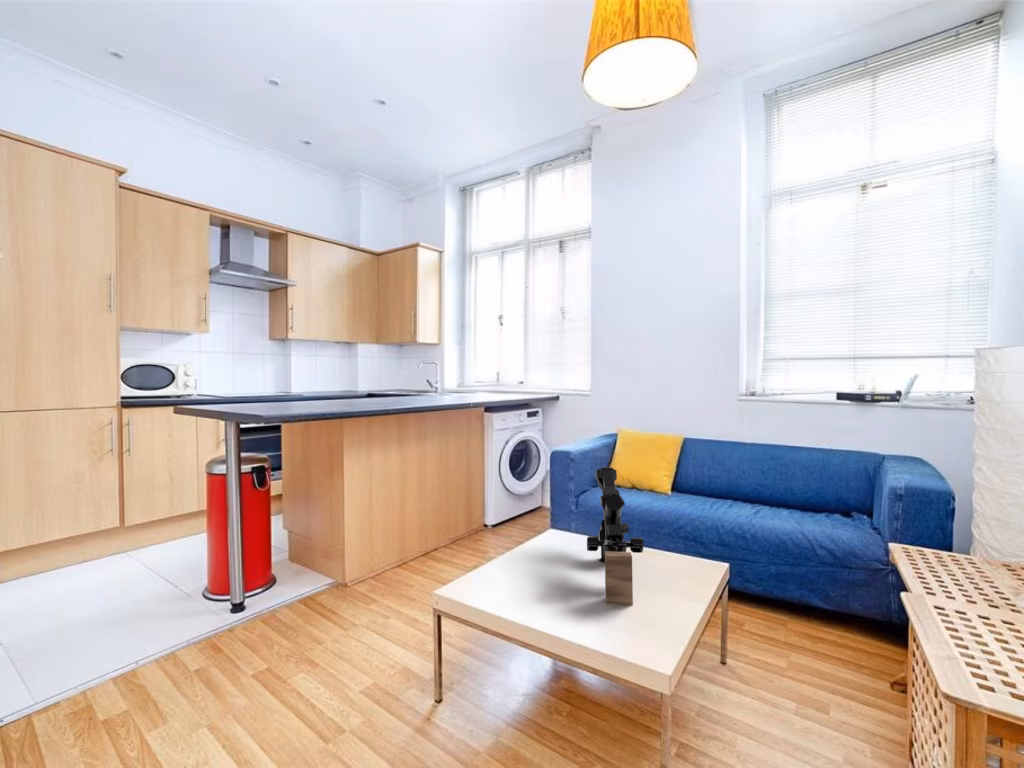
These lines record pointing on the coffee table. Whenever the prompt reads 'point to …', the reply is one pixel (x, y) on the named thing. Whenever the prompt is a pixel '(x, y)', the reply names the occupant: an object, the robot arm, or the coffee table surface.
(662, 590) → the coffee table surface
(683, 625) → the coffee table surface
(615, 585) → the walnut card box
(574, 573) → the coffee table surface
